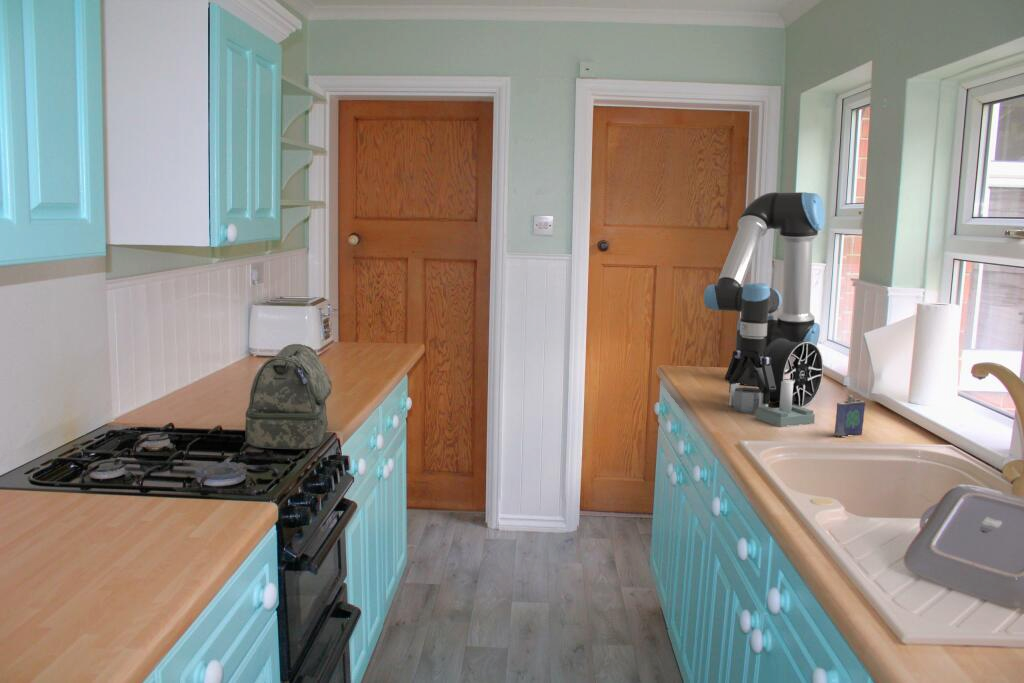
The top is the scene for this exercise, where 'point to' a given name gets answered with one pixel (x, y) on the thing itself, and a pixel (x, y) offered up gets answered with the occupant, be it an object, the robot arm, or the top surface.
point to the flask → (849, 417)
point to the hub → (746, 400)
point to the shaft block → (785, 410)
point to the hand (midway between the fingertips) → (747, 409)
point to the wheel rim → (795, 369)
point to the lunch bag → (289, 401)
